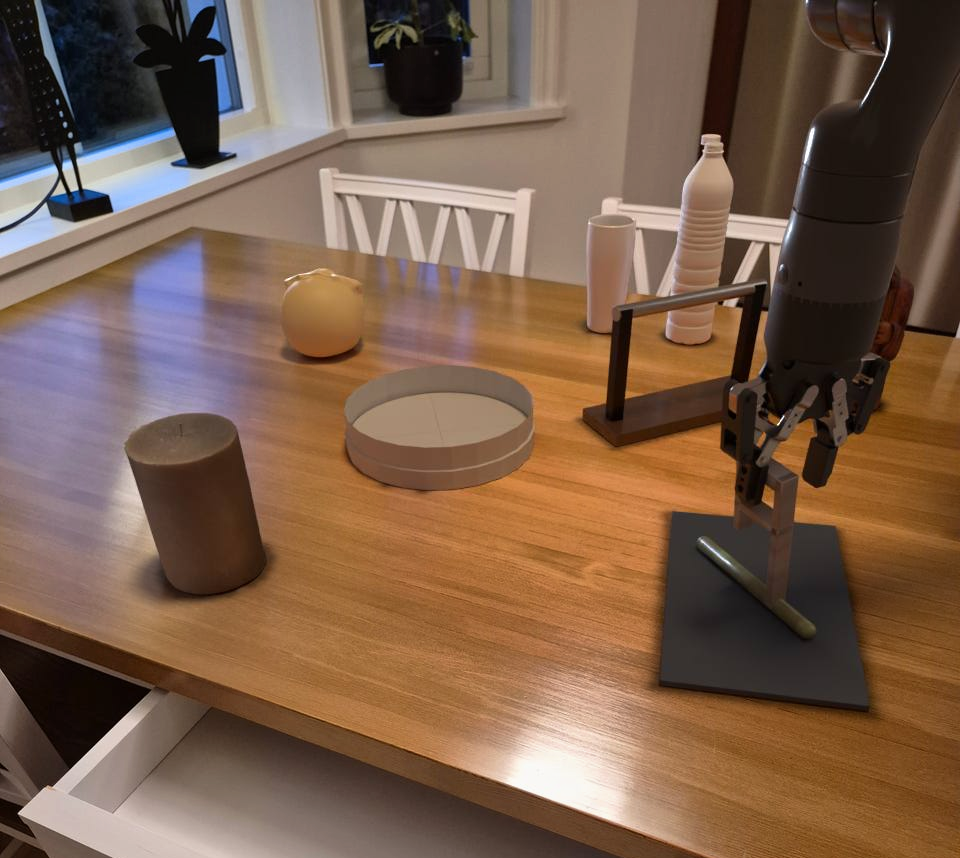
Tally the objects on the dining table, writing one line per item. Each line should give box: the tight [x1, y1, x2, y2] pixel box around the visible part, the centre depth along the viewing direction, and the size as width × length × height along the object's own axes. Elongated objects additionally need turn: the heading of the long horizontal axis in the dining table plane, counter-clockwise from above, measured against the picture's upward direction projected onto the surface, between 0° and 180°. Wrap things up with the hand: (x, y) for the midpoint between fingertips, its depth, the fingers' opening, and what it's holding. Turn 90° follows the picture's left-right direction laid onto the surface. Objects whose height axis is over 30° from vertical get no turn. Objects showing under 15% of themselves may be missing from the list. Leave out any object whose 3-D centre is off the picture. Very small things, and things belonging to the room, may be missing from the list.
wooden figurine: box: [851, 262, 915, 412], centre depth 102 cm, size 12×6×18 cm, turn 86°
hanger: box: [696, 456, 816, 639], centre depth 73 cm, size 16×2×14 cm, turn 24°
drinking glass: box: [585, 213, 637, 334], centre depth 124 cm, size 7×7×15 cm
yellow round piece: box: [279, 267, 365, 358], centre depth 121 cm, size 11×12×11 cm
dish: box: [343, 364, 536, 491], centre depth 100 cm, size 22×22×5 cm
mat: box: [658, 510, 871, 712], centre depth 77 cm, size 26×16×1 cm, turn 168°
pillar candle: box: [123, 412, 267, 595], centre depth 79 cm, size 10×10×15 cm
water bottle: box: [665, 133, 734, 345], centre depth 119 cm, size 9×6×25 cm
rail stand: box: [581, 278, 768, 448], centre depth 102 cm, size 8×22×15 cm, turn 114°
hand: (781, 491), depth 70 cm, fingers open, 6 cm apart
